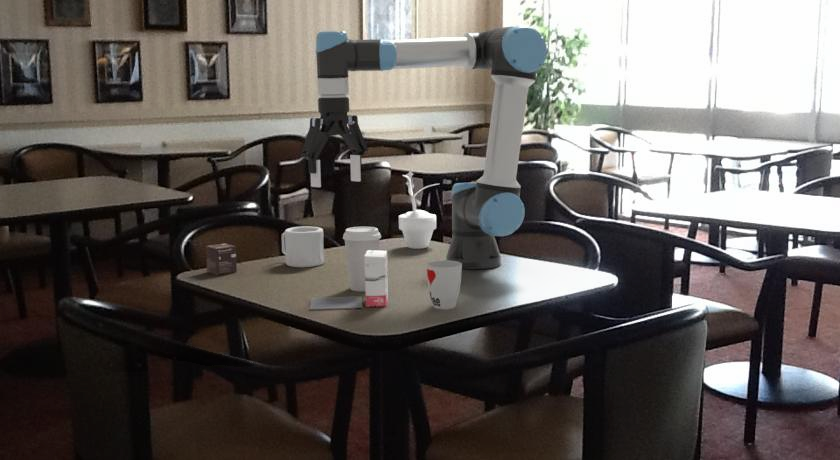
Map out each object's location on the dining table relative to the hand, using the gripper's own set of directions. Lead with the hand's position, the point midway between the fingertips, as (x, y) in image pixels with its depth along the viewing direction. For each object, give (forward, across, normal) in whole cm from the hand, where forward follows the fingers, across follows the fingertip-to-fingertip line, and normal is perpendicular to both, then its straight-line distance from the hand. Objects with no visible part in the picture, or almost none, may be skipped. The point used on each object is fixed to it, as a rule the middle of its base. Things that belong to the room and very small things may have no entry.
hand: (336, 184), depth 236 cm
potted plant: (+27, -54, -21) cm, 64 cm away
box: (+26, +6, -40) cm, 48 cm away
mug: (+26, -16, -31) cm, 44 cm away
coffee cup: (+26, -4, +5) cm, 27 cm away
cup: (+26, -2, +32) cm, 42 cm away
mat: (+26, +12, +11) cm, 31 cm away
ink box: (+26, +5, +17) cm, 32 cm away
